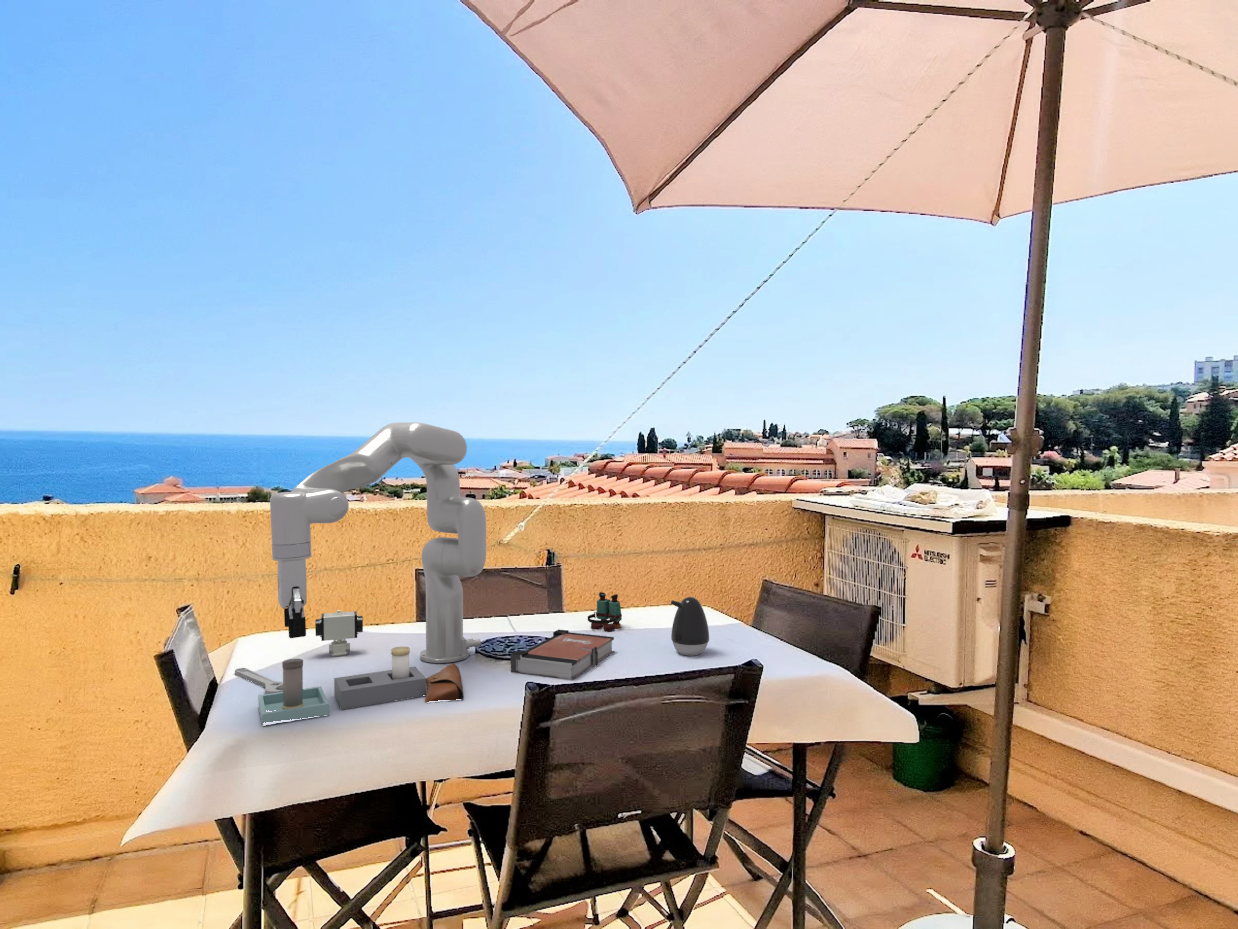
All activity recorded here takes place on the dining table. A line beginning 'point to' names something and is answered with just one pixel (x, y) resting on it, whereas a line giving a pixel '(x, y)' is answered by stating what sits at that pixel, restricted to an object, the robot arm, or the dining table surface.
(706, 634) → the pump dispenser
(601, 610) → the green twin tank jetpack
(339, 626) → the pneumatic valve
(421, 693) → the block
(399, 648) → the cylinder
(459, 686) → the sunglasses case
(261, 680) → the adjustable wrench
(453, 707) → the dining table surface
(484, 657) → the dining table surface
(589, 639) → the book
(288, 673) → the cylinder
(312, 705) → the parts tray
